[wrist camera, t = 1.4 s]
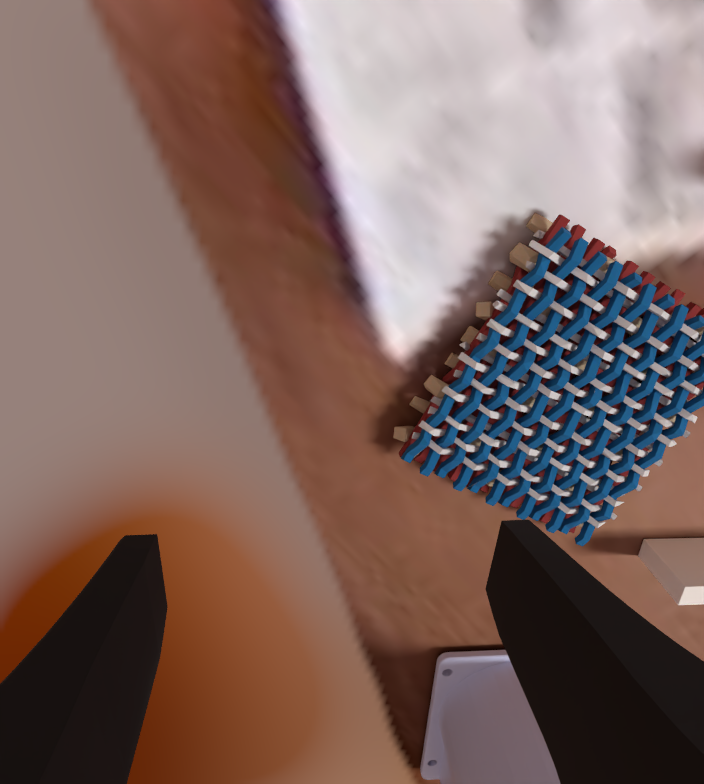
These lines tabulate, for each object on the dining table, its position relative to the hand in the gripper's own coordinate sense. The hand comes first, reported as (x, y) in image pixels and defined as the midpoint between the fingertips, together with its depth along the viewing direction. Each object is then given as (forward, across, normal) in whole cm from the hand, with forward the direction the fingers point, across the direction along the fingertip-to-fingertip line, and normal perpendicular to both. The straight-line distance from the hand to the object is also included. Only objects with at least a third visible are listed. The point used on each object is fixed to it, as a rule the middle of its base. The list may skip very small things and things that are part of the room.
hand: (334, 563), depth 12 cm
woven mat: (+10, -10, +1) cm, 14 cm away
